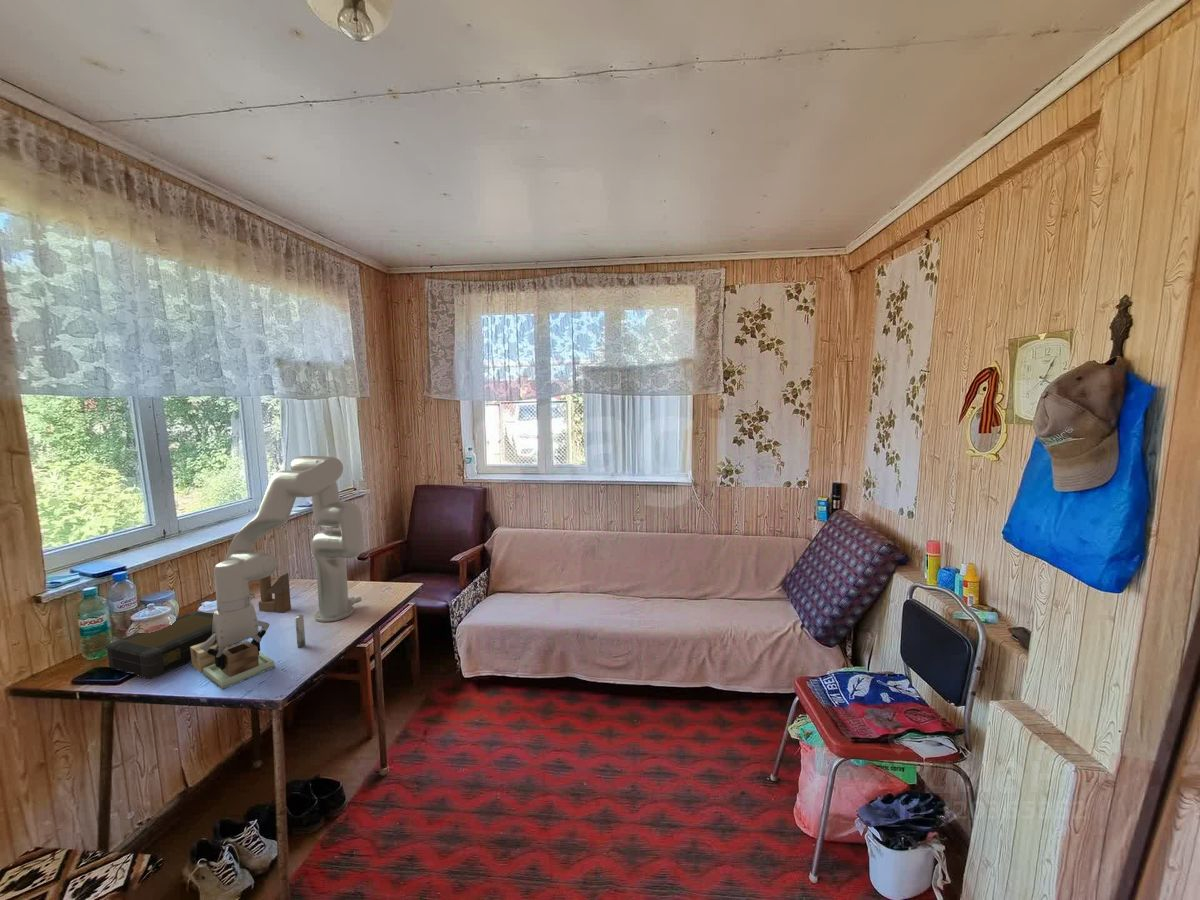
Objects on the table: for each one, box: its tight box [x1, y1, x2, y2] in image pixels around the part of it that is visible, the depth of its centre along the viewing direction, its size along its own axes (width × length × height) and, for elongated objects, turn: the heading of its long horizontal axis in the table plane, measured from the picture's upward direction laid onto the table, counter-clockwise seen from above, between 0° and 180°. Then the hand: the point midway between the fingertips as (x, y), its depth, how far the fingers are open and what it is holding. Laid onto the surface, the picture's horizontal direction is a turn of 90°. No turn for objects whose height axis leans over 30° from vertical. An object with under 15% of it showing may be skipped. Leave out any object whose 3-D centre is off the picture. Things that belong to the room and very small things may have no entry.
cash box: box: [106, 610, 214, 679], centre depth 151 cm, size 25×20×8 cm
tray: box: [202, 651, 276, 690], centre depth 141 cm, size 13×13×2 cm
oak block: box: [190, 642, 229, 674], centre depth 145 cm, size 7×7×6 cm
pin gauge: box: [294, 614, 306, 649], centre depth 155 cm, size 2×2×10 cm
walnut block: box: [221, 640, 259, 677], centre depth 141 cm, size 7×7×6 cm
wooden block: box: [257, 572, 292, 614], centre depth 181 cm, size 4×11×18 cm, turn 80°
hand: (238, 660), depth 141 cm, fingers open, 8 cm apart
